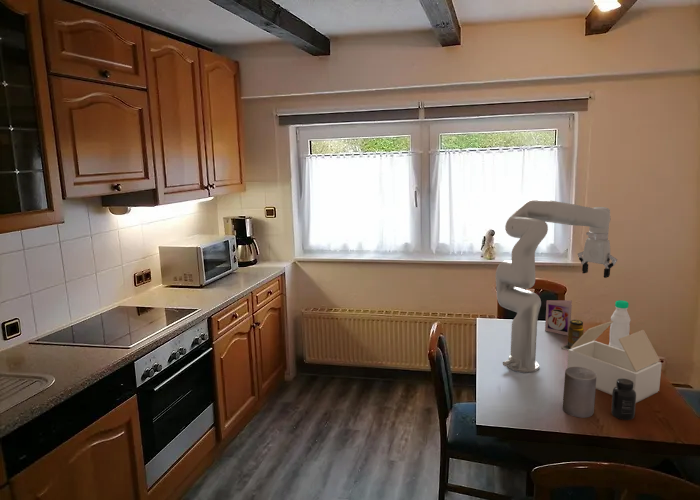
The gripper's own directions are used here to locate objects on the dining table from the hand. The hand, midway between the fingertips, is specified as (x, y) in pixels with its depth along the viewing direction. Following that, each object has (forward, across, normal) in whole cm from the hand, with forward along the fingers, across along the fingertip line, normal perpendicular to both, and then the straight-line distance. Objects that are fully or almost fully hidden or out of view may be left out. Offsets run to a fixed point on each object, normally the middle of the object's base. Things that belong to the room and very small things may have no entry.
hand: (595, 275), depth 225 cm
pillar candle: (+32, +31, -58) cm, 73 cm away
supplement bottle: (+32, +41, -50) cm, 72 cm away
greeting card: (+31, -17, +2) cm, 36 cm away
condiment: (+31, -1, -11) cm, 33 cm away
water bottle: (+31, +17, -9) cm, 37 cm away
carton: (+31, +27, -31) cm, 52 cm away
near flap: (+15, +36, -32) cm, 50 cm away
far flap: (+15, +18, -31) cm, 39 cm away
